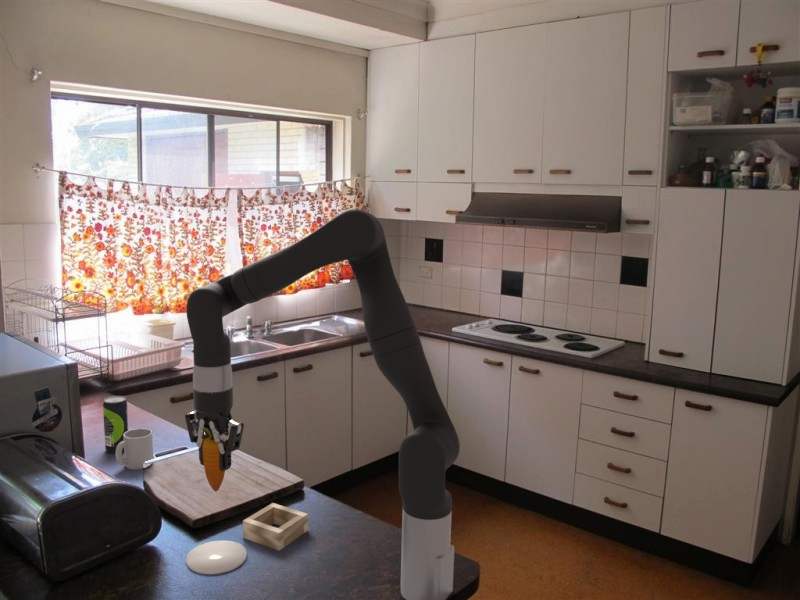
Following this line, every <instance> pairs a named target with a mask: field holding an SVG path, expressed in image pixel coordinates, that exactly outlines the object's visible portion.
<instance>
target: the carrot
mask: <svg viewBox="0 0 800 600" xmlns="http://www.w3.org/2000/svg"><path fill="white" fill-rule="evenodd" d="M202 430H204V431H206V432H207V433H208V434H209V435H210V437H208V438H206V439H205V440H204V442H203V447H202V448H203V462H204V465H203V467H204V472H205V476H206V479H207V481H208V484H209V486H210V487H211V489H212V490H213V491H214V492H217V491H219V490H220V487H221V485H222V484H223V481H224V478H225V472H226V471H221V470H220V450H219V446H218V444H217V443H216V442H215V439H214V436H213V435H211V434H210V431H209V429H208V428H206V427H202ZM220 437H222V435H220ZM224 445H225V446H226V442H225V441H224Z"/></svg>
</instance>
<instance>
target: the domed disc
mask: <svg viewBox="0 0 800 600" xmlns="http://www.w3.org/2000/svg"><path fill="white" fill-rule="evenodd" d="M247 555H248V554H247V549H246V548H245V546H243V544H241V543H239V542H237V541H233V540H221V539H220V540H213V541H209V542H205V543H201V544H199V545H197V546H195V547H194V548H192V549H191V550H190V551H189V552H188V553H187V556H186V559H185V562H186V566H187V567H188V569H189V570H190V571H192V572H194V573H197V574H199V575H200V574H201V575H221V574H225V573H228V572H231V571H233V570H236V569H237V568H239V567H240V566H241V565H243V564H244V563H245V561H246V559H247V557H248V556H247Z"/></svg>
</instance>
